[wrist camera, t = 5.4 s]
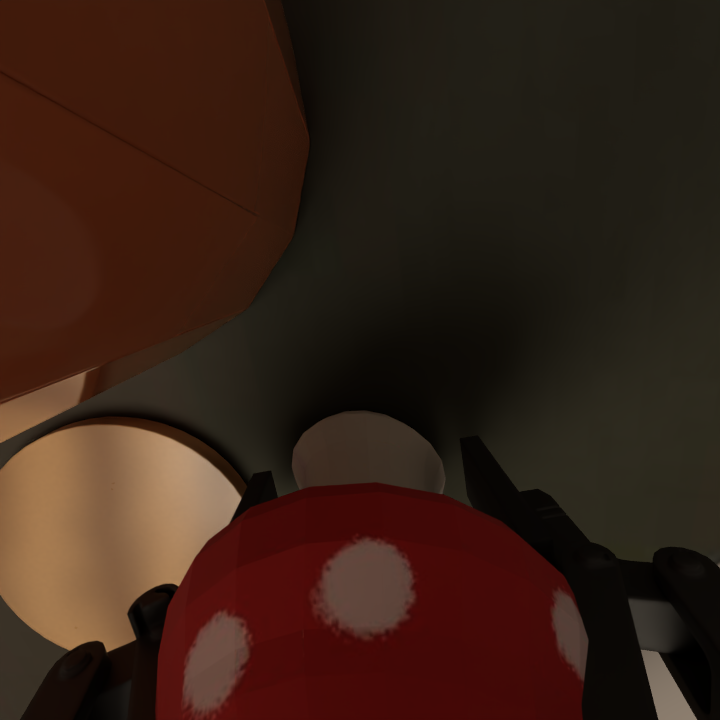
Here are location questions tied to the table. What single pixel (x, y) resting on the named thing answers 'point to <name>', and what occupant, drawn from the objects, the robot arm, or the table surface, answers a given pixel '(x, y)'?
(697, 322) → the table surface
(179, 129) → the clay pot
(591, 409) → the table surface
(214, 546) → the decorative mushroom
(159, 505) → the round golden metal disc
